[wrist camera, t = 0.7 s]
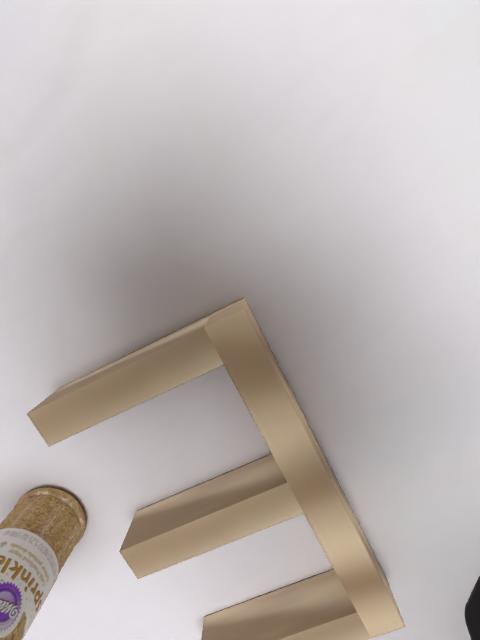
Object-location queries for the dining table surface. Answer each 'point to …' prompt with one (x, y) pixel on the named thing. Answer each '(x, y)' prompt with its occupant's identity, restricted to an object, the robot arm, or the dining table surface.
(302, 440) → the comb rack
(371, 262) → the dining table surface
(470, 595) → the robot arm
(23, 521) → the sprinkles bottle
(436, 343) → the dining table surface
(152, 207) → the dining table surface
